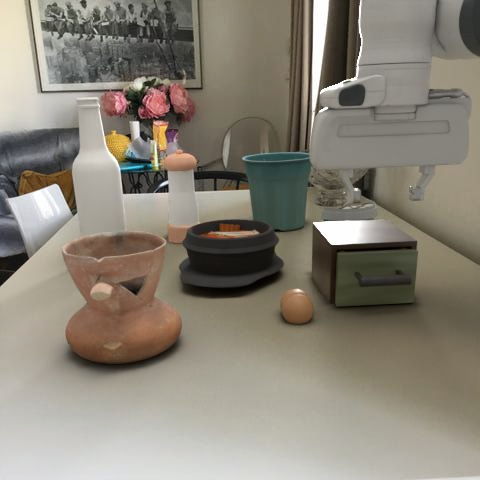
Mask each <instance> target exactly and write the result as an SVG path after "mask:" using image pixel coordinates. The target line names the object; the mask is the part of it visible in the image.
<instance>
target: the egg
mask: <svg viewBox="0 0 480 480" xmlns="http://www.w3.org/2000/svg"><path fill="white" fill-rule="evenodd" d="M279 307H280V311H281V313H282V316H283V318H284V319H285V321H286V322H288V323H290V324H295V325H303V324H307V323H308V322H309V321H310V320H311V319H312V317H313V315H314V312H315V311H314V310H315V307H314V303H313V301H312V299H311V298H310V296H309V294H308V293H307V292H306V291H305V290H303V289H300V288H291V289H289V290H286V291H285V292H284V293H283V294H282V296H281V298H280V301H279Z"/></svg>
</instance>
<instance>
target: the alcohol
mask: <svg viewBox="0 0 480 480" xmlns="http://www.w3.org/2000/svg"><path fill="white" fill-rule="evenodd" d="M75 101H76V104H77V105H76V109H77V113H78V114H77V116H78V133H79V135H78V136H79V151H78V154H76V155H77V156H76V157H75V158H74V160H73V163H72V167H71V176H72V184H73V190H74V197H75V204H76V212H77V213H76V214H77V218H78V219H77V220H78V227H79V233H80V237H83V236H87V235H93V234H97V233H102V232H106V233H107V232H115V231H128V230H127V229H128V228H127V220H126V219H127V217H126V210H125V201H124V191H123V182H122V172H121V167H120V165H119V161H118V159H117V158H116V157H115V156H114V155H113V154H112V153H111V152H110V150H109V148H108V146H107V142H106V136H105V131H104V127H103V121H102V117H101V111H100V109H101V108H100V107H101V105H100V103H99V101H100V98H99V97H98V96H86V97H85V96H84V97H76V99H75Z"/></svg>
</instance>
